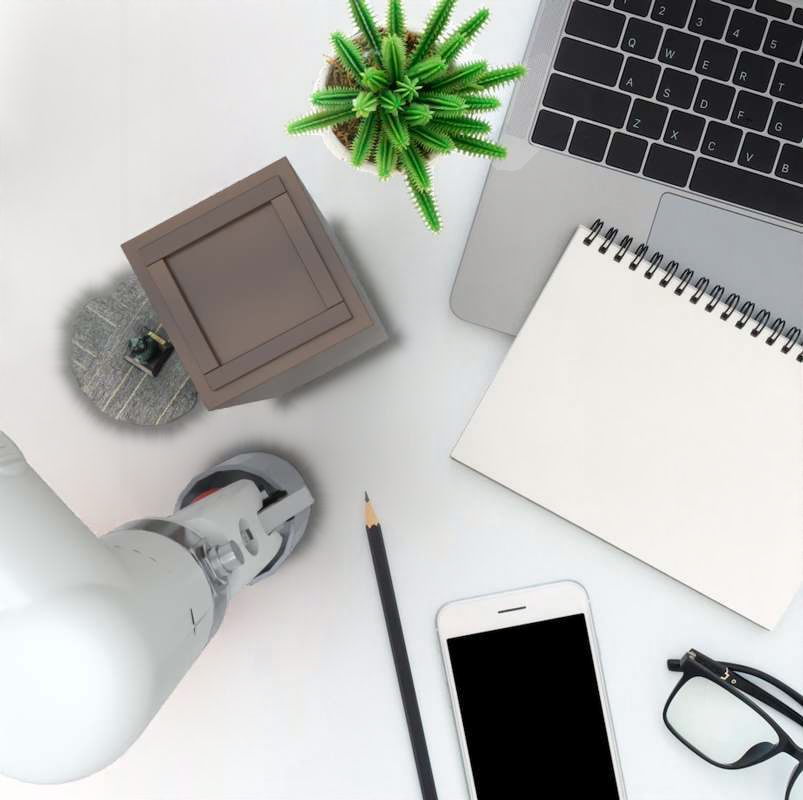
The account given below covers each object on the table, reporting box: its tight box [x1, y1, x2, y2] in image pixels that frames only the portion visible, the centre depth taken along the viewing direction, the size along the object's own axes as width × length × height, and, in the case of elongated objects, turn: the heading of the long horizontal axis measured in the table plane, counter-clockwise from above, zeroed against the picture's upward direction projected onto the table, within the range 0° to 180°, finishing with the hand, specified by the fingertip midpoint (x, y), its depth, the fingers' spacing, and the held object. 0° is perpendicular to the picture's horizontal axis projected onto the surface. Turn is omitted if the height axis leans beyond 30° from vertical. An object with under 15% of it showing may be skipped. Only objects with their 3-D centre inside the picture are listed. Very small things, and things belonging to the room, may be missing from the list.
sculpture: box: [70, 277, 198, 426], centre depth 69 cm, size 12×9×8 cm
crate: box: [119, 155, 390, 412], centre depth 56 cm, size 10×10×24 cm
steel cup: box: [172, 451, 312, 587], centre depth 65 cm, size 9×9×9 cm
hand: (227, 527), depth 59 cm, fingers closed on apple, 5 cm apart
